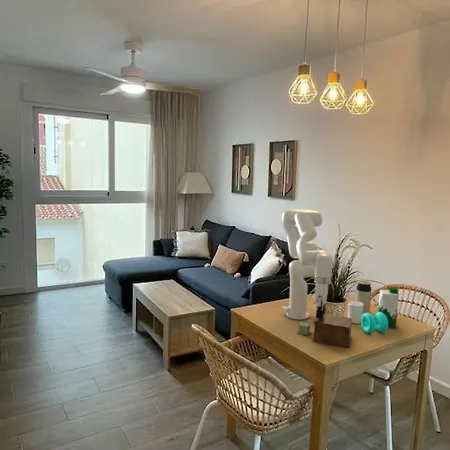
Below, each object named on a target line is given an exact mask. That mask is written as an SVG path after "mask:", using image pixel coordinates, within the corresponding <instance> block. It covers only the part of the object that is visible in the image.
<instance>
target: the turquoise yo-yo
mask: <svg viewBox="0 0 450 450" xmlns="http://www.w3.org/2000/svg"><path fill="white" fill-rule="evenodd" d="M360 324H361V328H362V329H363V331H364V332H365V333H367V334H372V333H374V332H375V330H377V332H379V333H385V332H386V331H387V330H388V328H389V327H388V320H387V317H386V315H385V314H384V313H382V312H378V311H377V312H375V313H374V315H372V314H371V312H370V313H364V314H362V318H361V323H360Z"/></svg>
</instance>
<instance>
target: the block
mask: <svg viewBox="0 0 450 450" xmlns="http://www.w3.org/2000/svg"><path fill="white" fill-rule="evenodd" d="M310 327H311V323H309V322H304V321H301V322H300V323H299V324H298V334H299V335H304V336H308V335H309V334H310V331H311V328H310Z"/></svg>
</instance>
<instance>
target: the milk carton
mask: <svg viewBox="0 0 450 450" xmlns="http://www.w3.org/2000/svg"><path fill="white" fill-rule="evenodd" d="M399 297H400V295H399V288H397V287H389V289H380V290H379V297H378V309H377V312H382V313H384V314H385V315H386V317H387V320H388V328H391V329H392V328H393V329H396V327H397V320H398V309H399V308H398V307H399Z"/></svg>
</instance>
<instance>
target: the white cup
mask: <svg viewBox="0 0 450 450" xmlns="http://www.w3.org/2000/svg"><path fill="white" fill-rule="evenodd" d="M363 305H364V304H363V303H361V302H357V301H356V300H351V301H348V302H347V318H352V324H356V325H357V324H361V318H362V315H363V314H362V313H363Z"/></svg>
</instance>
